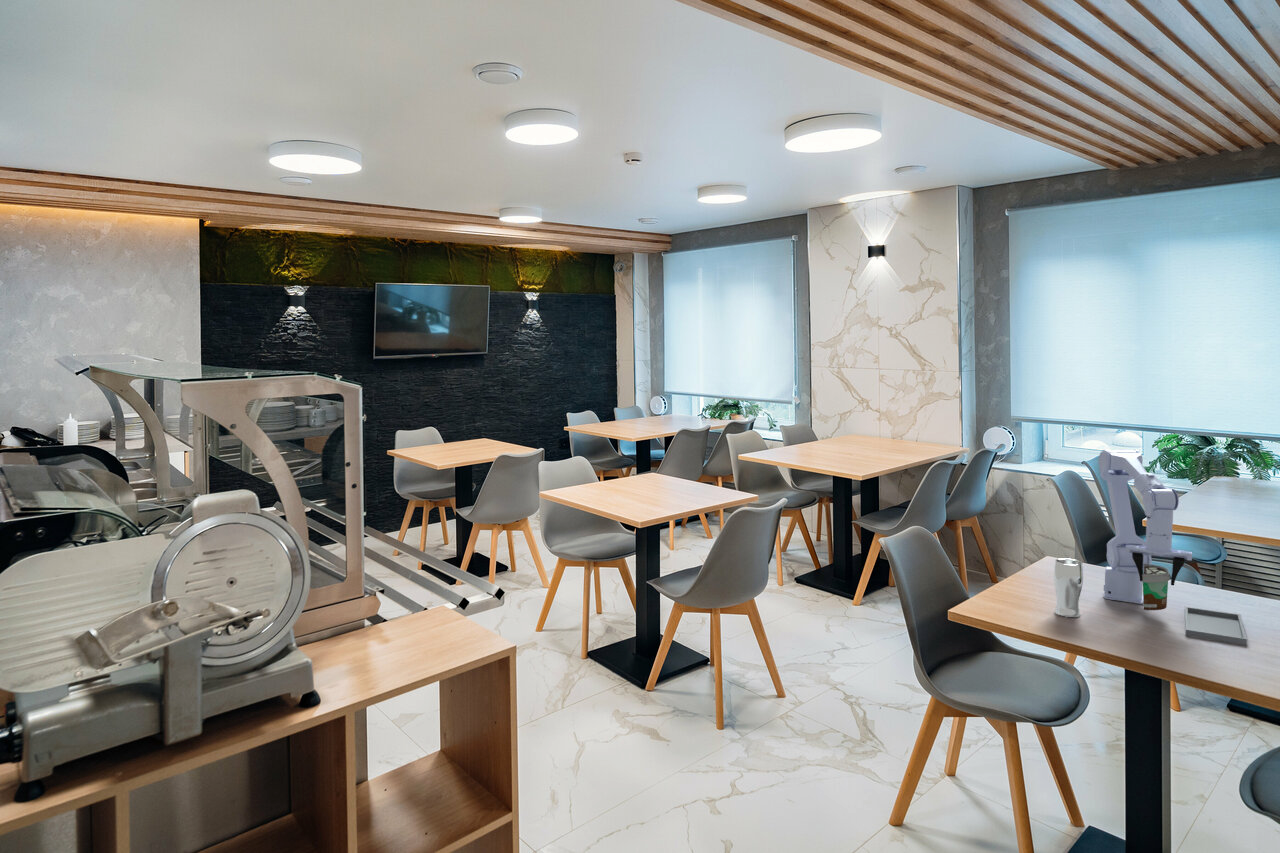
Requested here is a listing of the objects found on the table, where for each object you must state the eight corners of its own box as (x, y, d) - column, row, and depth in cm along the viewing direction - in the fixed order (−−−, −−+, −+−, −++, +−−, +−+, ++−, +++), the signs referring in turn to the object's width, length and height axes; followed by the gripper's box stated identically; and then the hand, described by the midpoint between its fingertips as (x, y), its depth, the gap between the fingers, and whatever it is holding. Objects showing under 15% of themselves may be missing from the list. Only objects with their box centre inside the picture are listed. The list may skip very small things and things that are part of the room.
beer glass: (1080, 611, 206) (1081, 559, 204) (1083, 619, 199) (1085, 566, 198) (1051, 608, 209) (1053, 557, 207) (1054, 616, 202) (1055, 563, 201)
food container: (1172, 614, 191) (1170, 576, 191) (1143, 611, 195) (1142, 574, 194) (1171, 600, 201) (1170, 565, 201) (1144, 598, 205) (1143, 563, 204)
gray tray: (1185, 635, 187) (1186, 629, 187) (1184, 612, 203) (1184, 606, 203) (1246, 645, 180) (1246, 639, 180) (1240, 620, 196) (1240, 614, 196)
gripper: (1125, 533, 198) (1123, 581, 199) (1193, 539, 189) (1190, 590, 190) (1127, 527, 203) (1125, 575, 205) (1192, 533, 195) (1190, 583, 196)
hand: (1156, 582), depth 198 cm, fingers closed on food container, 6 cm apart
